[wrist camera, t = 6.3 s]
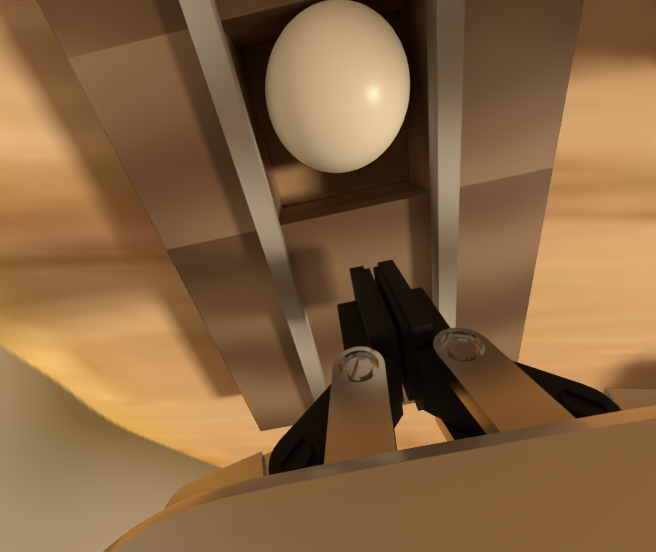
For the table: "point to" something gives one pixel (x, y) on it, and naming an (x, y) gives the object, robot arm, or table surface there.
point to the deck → (340, 211)
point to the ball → (337, 86)
